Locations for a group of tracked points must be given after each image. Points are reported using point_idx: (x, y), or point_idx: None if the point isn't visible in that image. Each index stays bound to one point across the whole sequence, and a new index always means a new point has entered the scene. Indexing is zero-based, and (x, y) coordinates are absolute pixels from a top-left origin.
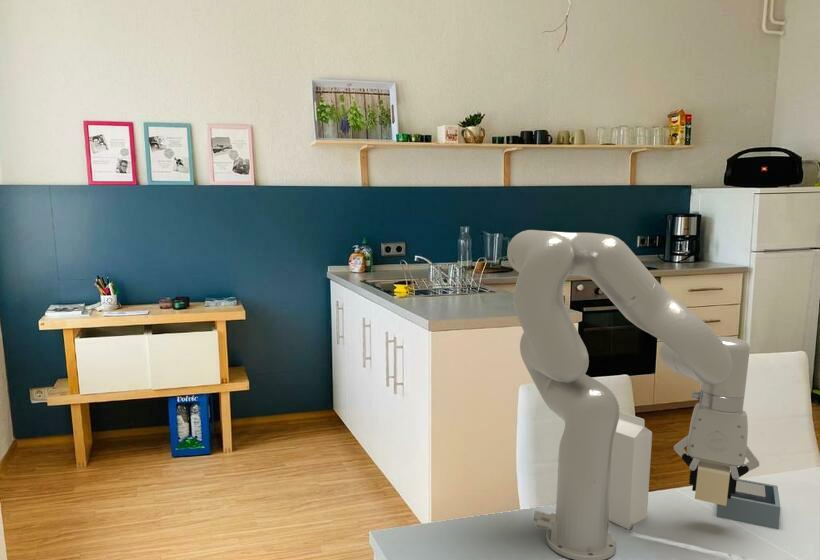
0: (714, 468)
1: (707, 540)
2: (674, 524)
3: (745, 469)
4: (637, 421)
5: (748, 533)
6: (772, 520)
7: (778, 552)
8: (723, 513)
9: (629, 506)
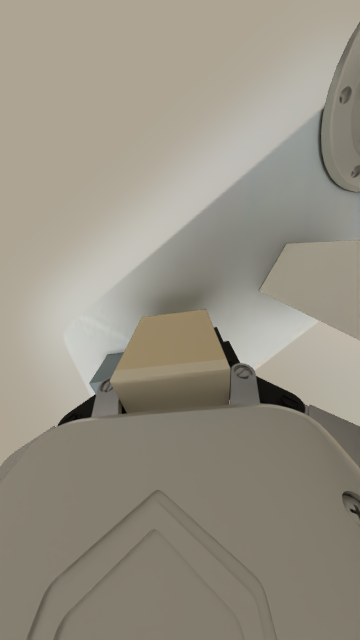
0: (169, 385)
1: (173, 287)
2: (220, 307)
3: (67, 422)
4: None
5: None
6: (107, 365)
7: (89, 310)
8: None
9: (327, 242)
